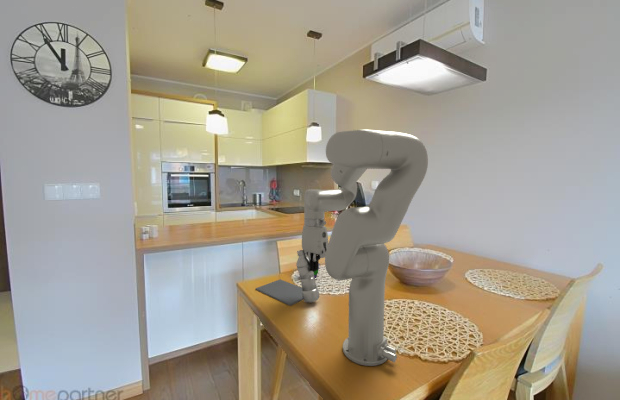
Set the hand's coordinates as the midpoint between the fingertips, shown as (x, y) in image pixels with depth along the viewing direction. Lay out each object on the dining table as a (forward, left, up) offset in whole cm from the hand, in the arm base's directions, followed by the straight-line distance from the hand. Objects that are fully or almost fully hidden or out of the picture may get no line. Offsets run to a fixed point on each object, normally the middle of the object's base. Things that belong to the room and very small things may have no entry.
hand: (314, 270), depth 102 cm
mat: (+17, 0, -13) cm, 21 cm away
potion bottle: (+19, -19, -14) cm, 30 cm away
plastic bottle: (+1, 0, -13) cm, 13 cm away
